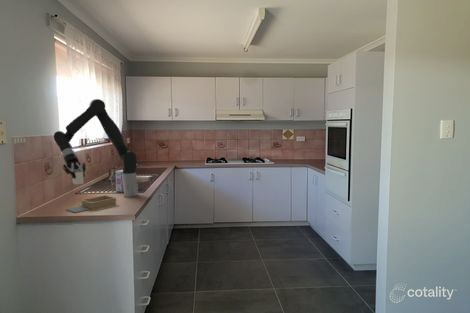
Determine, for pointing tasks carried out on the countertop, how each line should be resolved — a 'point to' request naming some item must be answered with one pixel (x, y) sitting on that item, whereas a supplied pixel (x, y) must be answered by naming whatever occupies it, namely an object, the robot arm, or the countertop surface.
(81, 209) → the slate mat
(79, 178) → the tea box
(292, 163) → the countertop surface
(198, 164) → the countertop surface
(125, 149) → the robot arm
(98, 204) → the carton
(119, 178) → the candy box
